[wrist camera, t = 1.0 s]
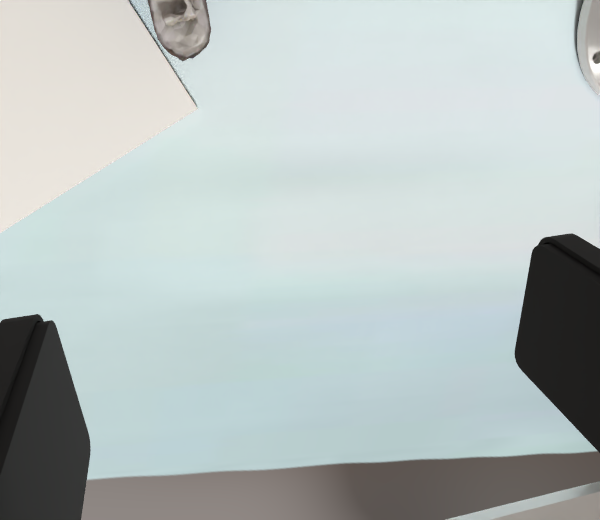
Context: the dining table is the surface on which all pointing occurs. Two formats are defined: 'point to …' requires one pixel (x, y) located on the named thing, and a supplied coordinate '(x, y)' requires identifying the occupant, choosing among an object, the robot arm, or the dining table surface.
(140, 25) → the mat
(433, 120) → the dining table surface
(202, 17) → the blue green-marked block
